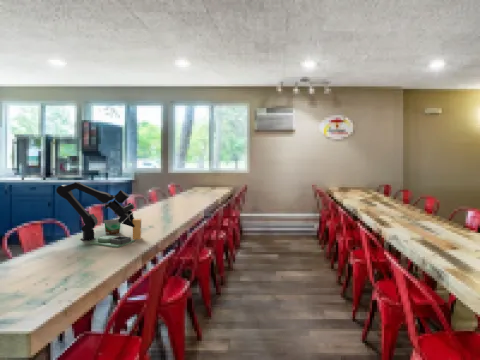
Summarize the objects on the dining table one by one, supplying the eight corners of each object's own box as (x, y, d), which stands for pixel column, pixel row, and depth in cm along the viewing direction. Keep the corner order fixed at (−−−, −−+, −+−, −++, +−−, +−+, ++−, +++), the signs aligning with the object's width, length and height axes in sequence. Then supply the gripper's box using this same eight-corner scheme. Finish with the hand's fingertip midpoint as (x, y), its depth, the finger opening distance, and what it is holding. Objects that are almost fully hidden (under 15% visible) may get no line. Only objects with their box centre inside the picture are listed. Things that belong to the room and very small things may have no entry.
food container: (108, 236, 209) (108, 221, 208) (103, 234, 213) (103, 219, 212) (125, 232, 219) (125, 218, 218) (120, 231, 223) (120, 217, 222)
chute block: (132, 239, 202) (132, 220, 201) (133, 237, 206) (133, 218, 206) (140, 239, 203) (140, 219, 202) (141, 237, 207) (141, 218, 206)
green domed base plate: (90, 243, 190) (90, 238, 189) (108, 238, 204) (108, 232, 203) (117, 247, 183) (117, 241, 183) (134, 241, 197) (134, 236, 197)
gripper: (123, 201, 193) (142, 219, 195) (129, 197, 211) (146, 213, 214) (110, 214, 192) (129, 232, 194) (117, 209, 210) (134, 225, 213)
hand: (135, 225), depth 204 cm, fingers open, 9 cm apart
